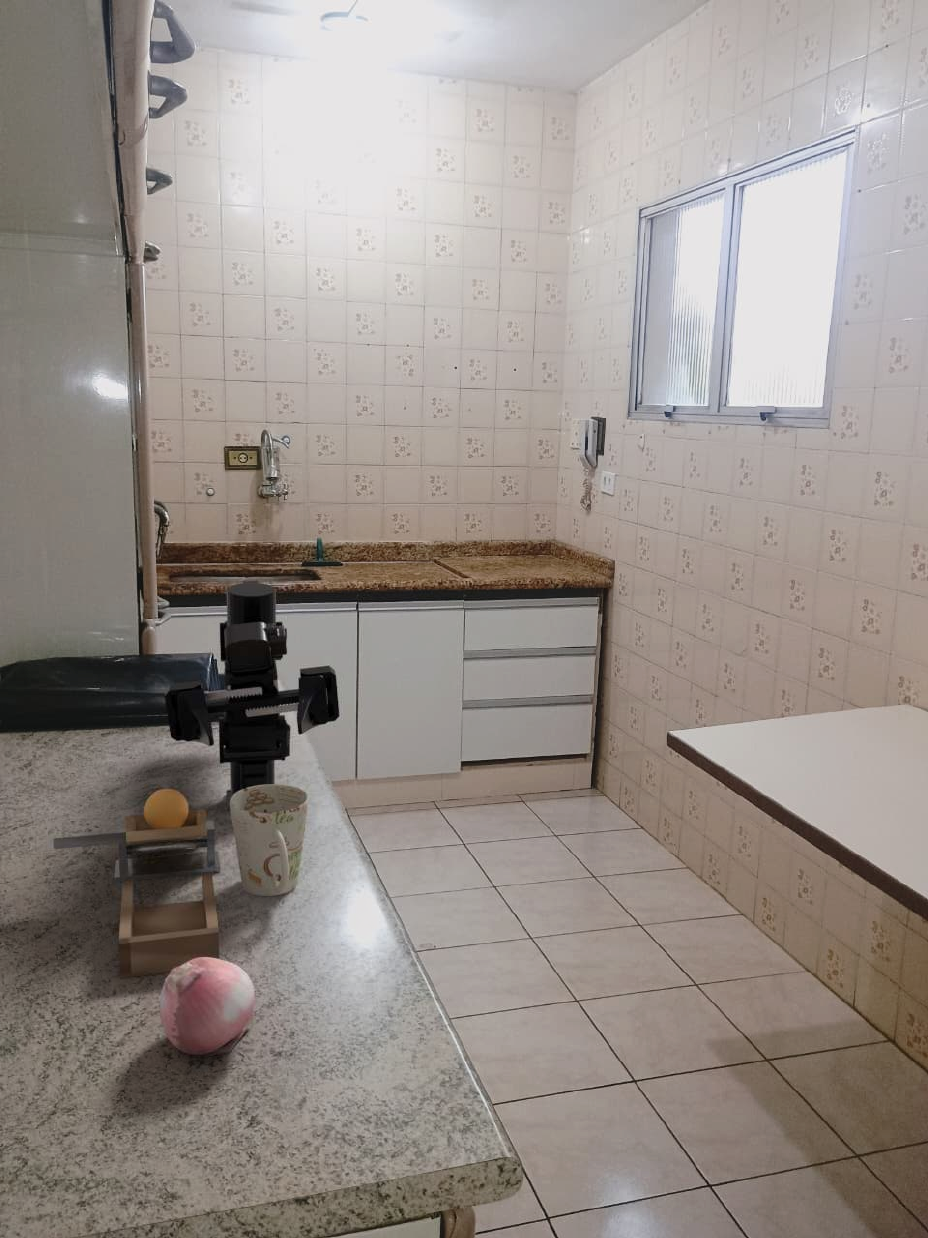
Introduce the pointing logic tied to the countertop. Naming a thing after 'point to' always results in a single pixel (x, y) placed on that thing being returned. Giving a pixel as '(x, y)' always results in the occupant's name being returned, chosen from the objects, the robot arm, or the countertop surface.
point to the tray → (166, 932)
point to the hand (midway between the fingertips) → (255, 735)
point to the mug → (269, 836)
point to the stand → (167, 859)
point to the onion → (206, 1006)
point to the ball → (166, 809)
